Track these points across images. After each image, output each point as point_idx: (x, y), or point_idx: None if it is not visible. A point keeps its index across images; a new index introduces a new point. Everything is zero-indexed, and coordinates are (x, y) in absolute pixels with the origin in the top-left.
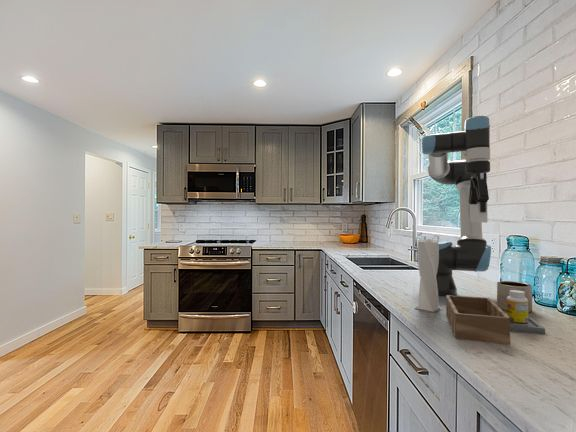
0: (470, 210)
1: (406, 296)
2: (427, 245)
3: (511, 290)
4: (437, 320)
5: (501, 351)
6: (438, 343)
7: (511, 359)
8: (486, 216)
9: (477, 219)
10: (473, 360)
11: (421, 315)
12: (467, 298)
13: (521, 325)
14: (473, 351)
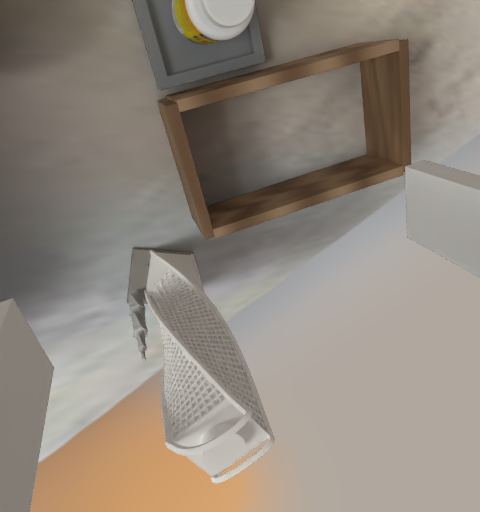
0: (32, 488)
1: None
2: (256, 412)
3: (223, 17)
4: (259, 224)
5: (414, 63)
6: None
7: (449, 44)
8: (468, 181)
9: (13, 327)
10: (471, 112)
11: (235, 269)
12: (196, 174)
13: None
14: (431, 116)
